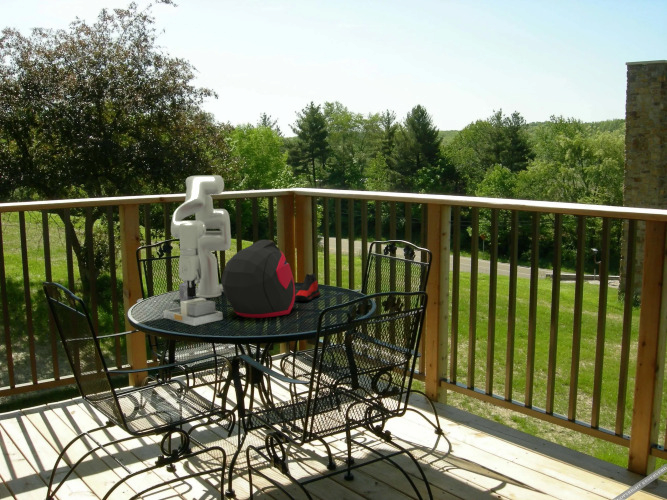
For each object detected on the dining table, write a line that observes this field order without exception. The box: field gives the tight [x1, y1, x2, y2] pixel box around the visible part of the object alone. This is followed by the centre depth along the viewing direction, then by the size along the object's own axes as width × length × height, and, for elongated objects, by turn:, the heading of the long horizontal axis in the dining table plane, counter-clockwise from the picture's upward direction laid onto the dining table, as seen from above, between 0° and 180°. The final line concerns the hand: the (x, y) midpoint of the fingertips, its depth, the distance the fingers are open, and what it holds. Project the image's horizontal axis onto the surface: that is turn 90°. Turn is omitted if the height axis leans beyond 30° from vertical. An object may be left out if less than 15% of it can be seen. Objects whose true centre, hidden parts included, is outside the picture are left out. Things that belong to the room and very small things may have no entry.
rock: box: [178, 281, 195, 305], centre depth 295 cm, size 10×6×10 cm, turn 48°
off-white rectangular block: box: [179, 297, 207, 315], centre depth 270 cm, size 4×10×7 cm, turn 137°
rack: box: [162, 300, 224, 327], centre depth 269 cm, size 22×14×8 cm, turn 47°
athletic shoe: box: [294, 273, 321, 302], centre depth 304 cm, size 8×20×12 cm, turn 159°
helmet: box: [220, 239, 296, 319], centre depth 277 cm, size 26×32×30 cm
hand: (191, 296), depth 268 cm, fingers closed
